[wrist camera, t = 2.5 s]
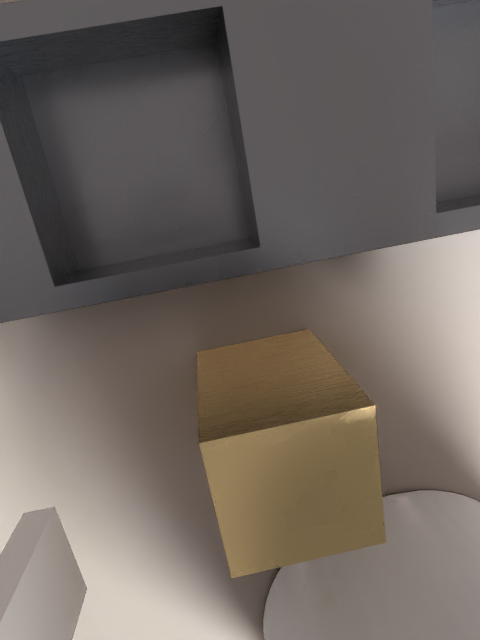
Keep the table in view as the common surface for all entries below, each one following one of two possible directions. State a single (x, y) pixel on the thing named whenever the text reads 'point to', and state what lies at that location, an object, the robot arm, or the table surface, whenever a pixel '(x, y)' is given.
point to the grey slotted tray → (226, 139)
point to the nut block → (287, 453)
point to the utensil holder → (389, 579)
